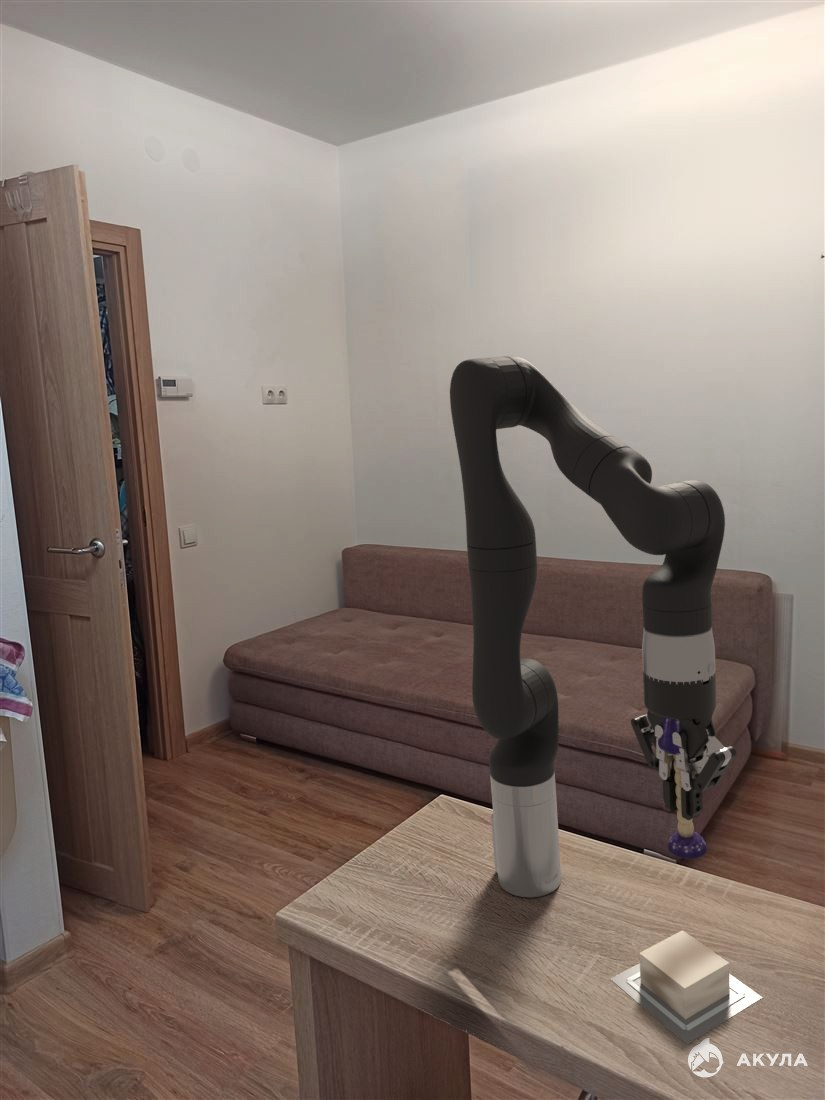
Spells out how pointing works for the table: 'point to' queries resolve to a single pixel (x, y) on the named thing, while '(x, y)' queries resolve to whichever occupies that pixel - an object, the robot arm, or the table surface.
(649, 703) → the robot arm
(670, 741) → the toy lamp
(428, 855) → the table surface
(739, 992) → the slate board
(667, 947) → the cream block
